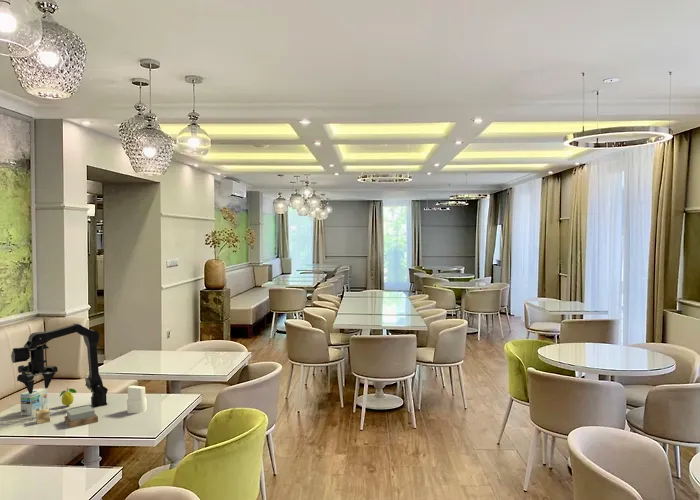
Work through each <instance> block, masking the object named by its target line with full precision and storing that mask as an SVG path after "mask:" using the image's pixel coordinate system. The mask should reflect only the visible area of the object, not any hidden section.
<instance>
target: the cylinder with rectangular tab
mask: <svg viewBox="0 0 700 500" xmlns="http://www.w3.org/2000/svg"><path fill="white" fill-rule="evenodd" d="M147 404H148V403H147V396H146V387H145V386H138V385H129V386H128V387H127V400H126V406H127V407H126V408H127V409H126V410H127V413H128V414H130V413H137V414H141V413H140V412H142V413H144V412H146V411H147Z"/></svg>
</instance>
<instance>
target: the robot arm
mask: <svg viewBox="0 0 700 500" xmlns="http://www.w3.org/2000/svg"><path fill="white" fill-rule="evenodd" d="M75 333H77V334H78V335H80V336H82V337H83V341H84V344H85V346H86V350H87V351H86V352H87V361H88V362H87V363H88V364H87V365H88V377H85V378H84V380H85V384H84V385H85V387H86V388H87V389H88V390H89V391H90V392H91V396H90V406H92V407H94V408H96V407H97V408H98V407H101V406H107V405H108V403H107V393H108V391H109V389H108V388H107V387H105V386H104V383H103V380H102V378H101V375H100V373H99V360H98V359H99V358H98V344H99V341H100V333H99V332H98V331H97V330H94V329H89V328H87V327H85V326H83V325H81V324H79V323H73V324H70V325H66V326H64V327H63V326H62V327H60V328H55V329H53V330H49V331H37V332H32V333H30V334H29V336H28V340H27V341H26V343H25V344H24V345H23V347H13V348H12V351H11V354H10V357H11V362H12V364H15V363H21V362H27V361H28V360H30V361H28V362H27V365H24V364H22V365H19V366H17V371H18V373H19V374H18V376H17V377H16V378H17V379H16V382H20V383H22V384H24V385H25V388H26V390H27V392H29V394H32V392H33V389H34V385H35V379H34V378H35V377H37V376H40V375H42V377H43V381H44V382H43V383H44V389H48V388H49V386H50V384H51V382H52V380H53V378H54V376H55V375H56V374H57V373H58V367H57V365H46V366H45V364H46V363H47V359H45V350H47V349H48V350H49V348H50V347H49V346H48V345H46V344H47V343H48V342H50V341H52V340H54V339H57V338H60V337H64V336H65V337H66V336H68V335H71V334H75Z"/></svg>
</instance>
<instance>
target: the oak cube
mask: <svg viewBox="0 0 700 500" xmlns="http://www.w3.org/2000/svg"><path fill="white" fill-rule="evenodd" d="M50 413H51V412H50V409H49V408H48V409H44V410H39V411H36V414H35V423H37V425H40V424H45V423H49V422H51V414H50Z"/></svg>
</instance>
